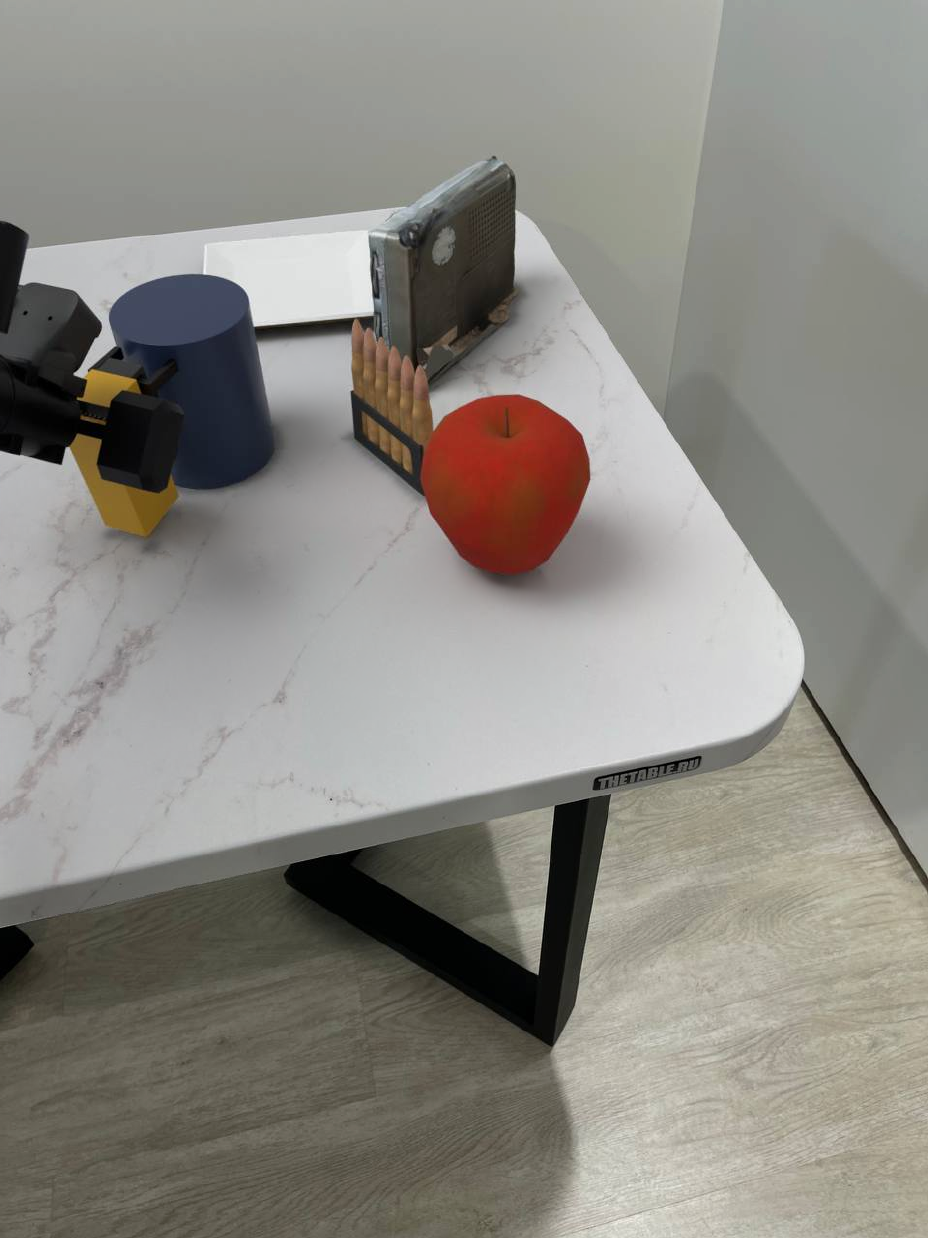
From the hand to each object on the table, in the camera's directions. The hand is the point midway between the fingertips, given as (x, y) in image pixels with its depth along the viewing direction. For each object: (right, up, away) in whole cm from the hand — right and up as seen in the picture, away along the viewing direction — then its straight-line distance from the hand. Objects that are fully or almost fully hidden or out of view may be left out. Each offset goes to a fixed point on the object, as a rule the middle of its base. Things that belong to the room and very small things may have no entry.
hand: (124, 440), depth 78 cm
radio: (+24, +16, +26) cm, 39 cm away
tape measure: (0, -5, +5) cm, 7 cm away
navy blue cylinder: (+3, 0, +11) cm, 12 cm away
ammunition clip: (+20, 0, +11) cm, 23 cm away
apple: (+29, -9, +2) cm, 31 cm away
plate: (+8, +21, +31) cm, 39 cm away
